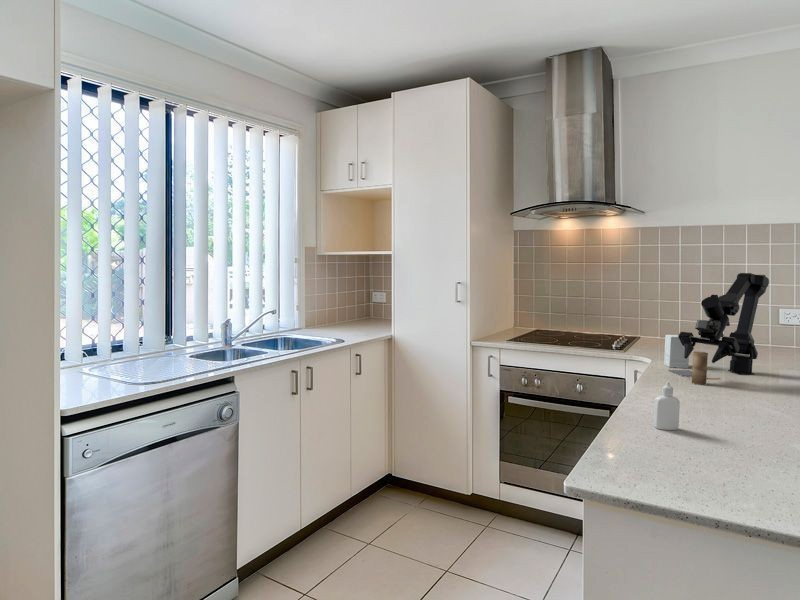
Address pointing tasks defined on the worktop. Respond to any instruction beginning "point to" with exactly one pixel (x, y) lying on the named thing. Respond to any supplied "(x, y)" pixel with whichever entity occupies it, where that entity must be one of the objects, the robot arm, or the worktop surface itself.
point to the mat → (682, 372)
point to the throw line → (708, 378)
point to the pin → (699, 368)
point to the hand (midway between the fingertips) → (698, 360)
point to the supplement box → (674, 352)
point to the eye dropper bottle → (666, 410)
